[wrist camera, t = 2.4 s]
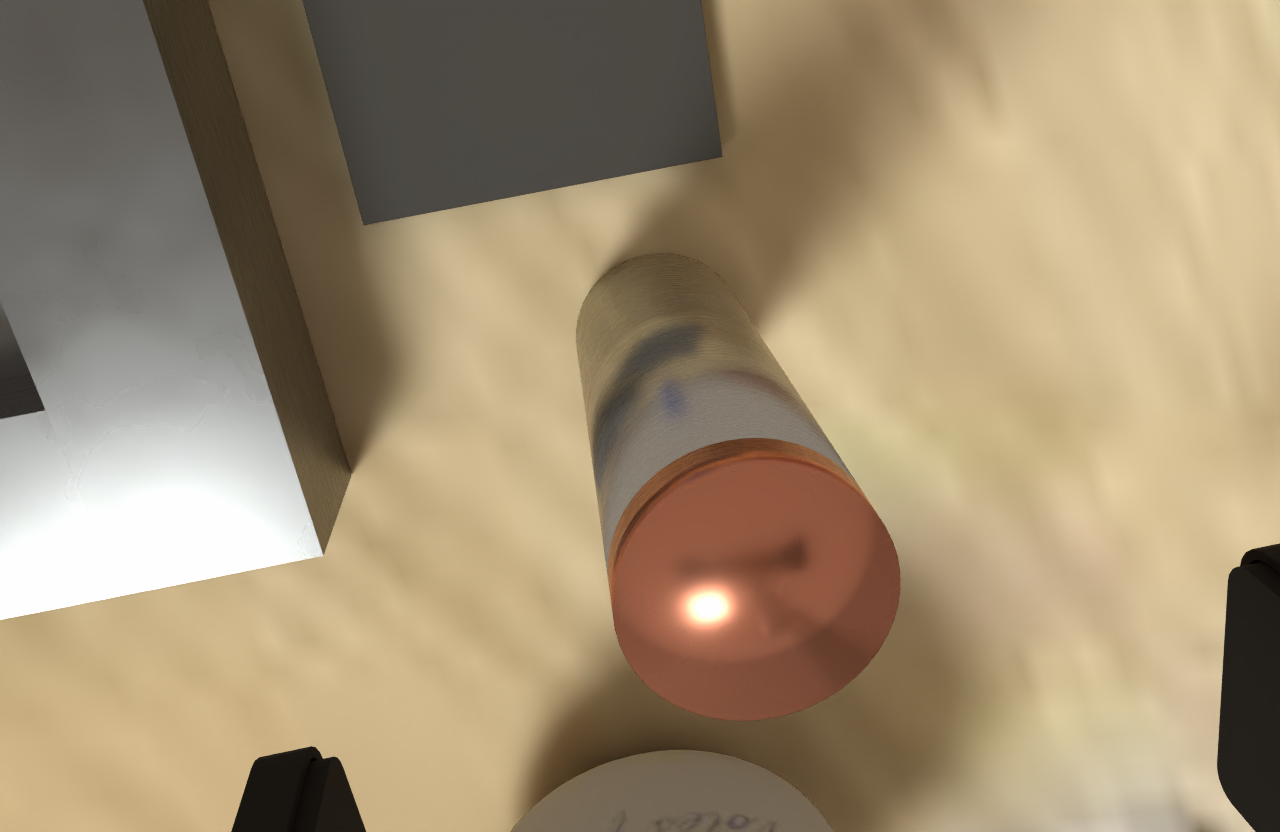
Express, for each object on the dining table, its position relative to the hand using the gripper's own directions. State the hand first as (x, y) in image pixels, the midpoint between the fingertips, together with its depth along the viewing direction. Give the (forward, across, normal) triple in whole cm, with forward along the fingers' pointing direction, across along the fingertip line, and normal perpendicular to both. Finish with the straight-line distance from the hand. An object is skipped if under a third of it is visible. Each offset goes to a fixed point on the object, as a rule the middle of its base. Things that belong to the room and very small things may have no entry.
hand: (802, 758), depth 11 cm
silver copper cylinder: (+16, 0, +1) cm, 16 cm away
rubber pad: (+16, +2, -7) cm, 18 cm away
